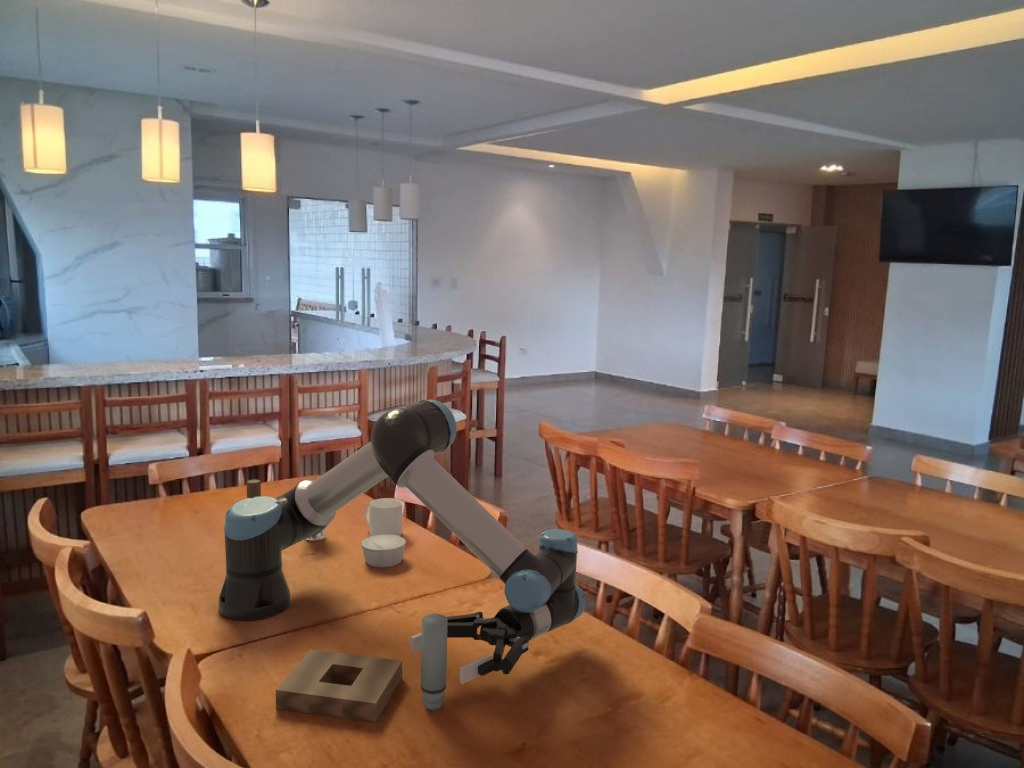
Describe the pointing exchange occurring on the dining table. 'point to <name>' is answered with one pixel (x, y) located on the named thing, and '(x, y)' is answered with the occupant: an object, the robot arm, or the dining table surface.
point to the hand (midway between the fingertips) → (435, 659)
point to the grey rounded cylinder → (433, 660)
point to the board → (319, 696)
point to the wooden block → (253, 488)
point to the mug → (384, 517)
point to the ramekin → (383, 550)
